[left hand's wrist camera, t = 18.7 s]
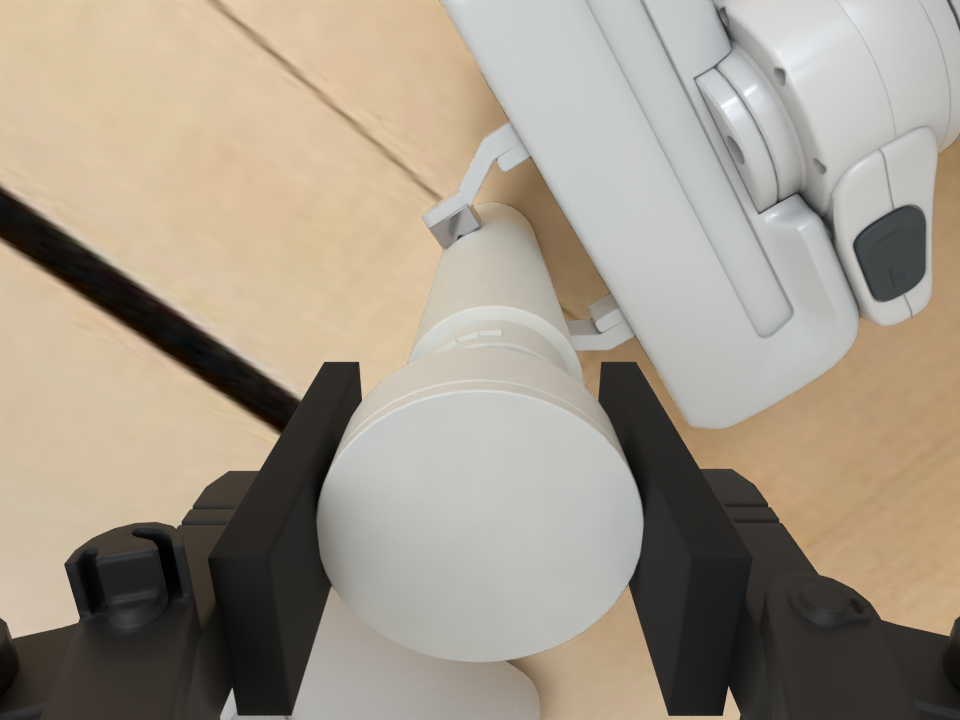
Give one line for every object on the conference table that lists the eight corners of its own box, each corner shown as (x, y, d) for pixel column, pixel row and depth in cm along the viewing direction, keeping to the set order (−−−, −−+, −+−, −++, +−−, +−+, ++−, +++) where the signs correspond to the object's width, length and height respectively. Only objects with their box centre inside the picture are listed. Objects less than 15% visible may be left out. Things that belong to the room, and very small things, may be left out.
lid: (410, 620, 14) (400, 696, 12) (287, 408, 12) (253, 461, 10) (656, 540, 13) (683, 609, 11) (565, 300, 11) (581, 337, 9)
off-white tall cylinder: (455, 193, 31) (412, 309, 13) (546, 213, 31) (619, 351, 14) (438, 282, 32) (380, 488, 15) (525, 300, 33) (565, 522, 15)
